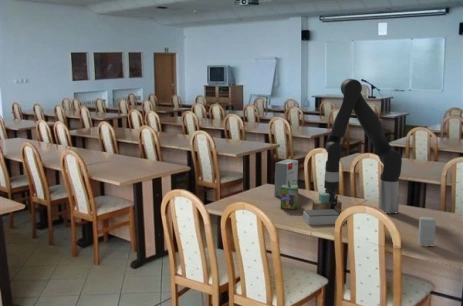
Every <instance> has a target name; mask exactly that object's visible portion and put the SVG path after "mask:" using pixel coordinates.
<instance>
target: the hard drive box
mask: <svg viewBox="0 0 463 306" xmlns="http://www.w3.org/2000/svg"><path fill="white" fill-rule="evenodd" d="M298 165H299V160H296V159H288V158H287V159H283V160H281V161H278V162H275V166H274V168H275V169H274V170H275V171H274V191H273V195H274V196H275V197H280V198H281V187H282V185H288V180H289V183H290V185H298V174H299V173H298V170H299V166H298Z"/></svg>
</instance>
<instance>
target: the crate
mask: <svg viewBox="0 0 463 306" xmlns="http://www.w3.org/2000/svg"><path fill="white" fill-rule="evenodd" d="M318 201H320V202H321V203H329V195H328V194H327V193H325V192H324V193H323V192H322V193H320V192H319V193H318Z"/></svg>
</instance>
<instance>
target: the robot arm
mask: <svg viewBox="0 0 463 306" xmlns="http://www.w3.org/2000/svg"><path fill="white" fill-rule="evenodd" d="M362 90H363V86H362V83H361V82H360V80H357V79H354V78H347V79H344V80H343V81H342V82H341V84H340V91H341V94H342V95H343V99H342V102H341V105H340V108H339V110H338V112H337V114H336V116H335V118H334V121H333V124H332V126H331V132H330V134H329V136H328V138H327V140H326V142H325V147H324V148H325V152H327V157H326V159H327V160H326V161H325V168H324V169H325V172H324V183H323V184H324V185H323V186H324V189H325V190H324V193H327V194H328V195H329V202H330V209H334V210H335V206H337V200H339V199H338V198H339V196H338V194H337V192H336V191H337V190H339V188H340V161H341V157H342V147H341V141H342V139H343V138H344V137H345V135H346V131H347V129H348V125H349V122H350V118H351V116H352V113H353V112H354V114H355V116H356V118H357V121H358V122H359V125H360V126H361V128H362V130H363V132H364V133H365V134H366V136H367V138H368V140H369V141H370V142H371V144H372V145H373V147H374V150H375V152H376V154H377V156H378V159H379V161H380V163H381V164H382V165H383V167H382V173H380V177H379V194H378V195H379V196H378V208H379V209H381V210H383V211H384V212H386V213H395V212H398V213H399V209H400V208H399V207H400V206H399V205H400V195H399V181H400V176H401V174H402V164H403V162H402V161H403V160H402V159H403V158H402V155H401V153H400V152H399V151H397V150H394V148H393V147H392V146H391V144H390V142H388V140H387V137H386V134H385V130H384V127H383V124H382V123H381V120H380V118H379V117H378V115H377V113H376V112H375V111H374V109H373V108H372V107H371V106H370V105H369V103H368V102H367V101H366V100H365V98H364V97H363V94H362ZM333 202H334V204H333Z"/></svg>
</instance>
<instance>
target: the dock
mask: <svg viewBox="0 0 463 306" xmlns="http://www.w3.org/2000/svg"><path fill="white" fill-rule="evenodd" d="M339 215H341V214H338V213H337V212H336V211H335V210H334V209H326V210H312V209H304V210H303V212H302V219H303V220H304V222H305V223H307V225H308V226H314V225H315V226H316V225H336V224H335V221H336V219H337V218H338V216H339Z"/></svg>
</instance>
